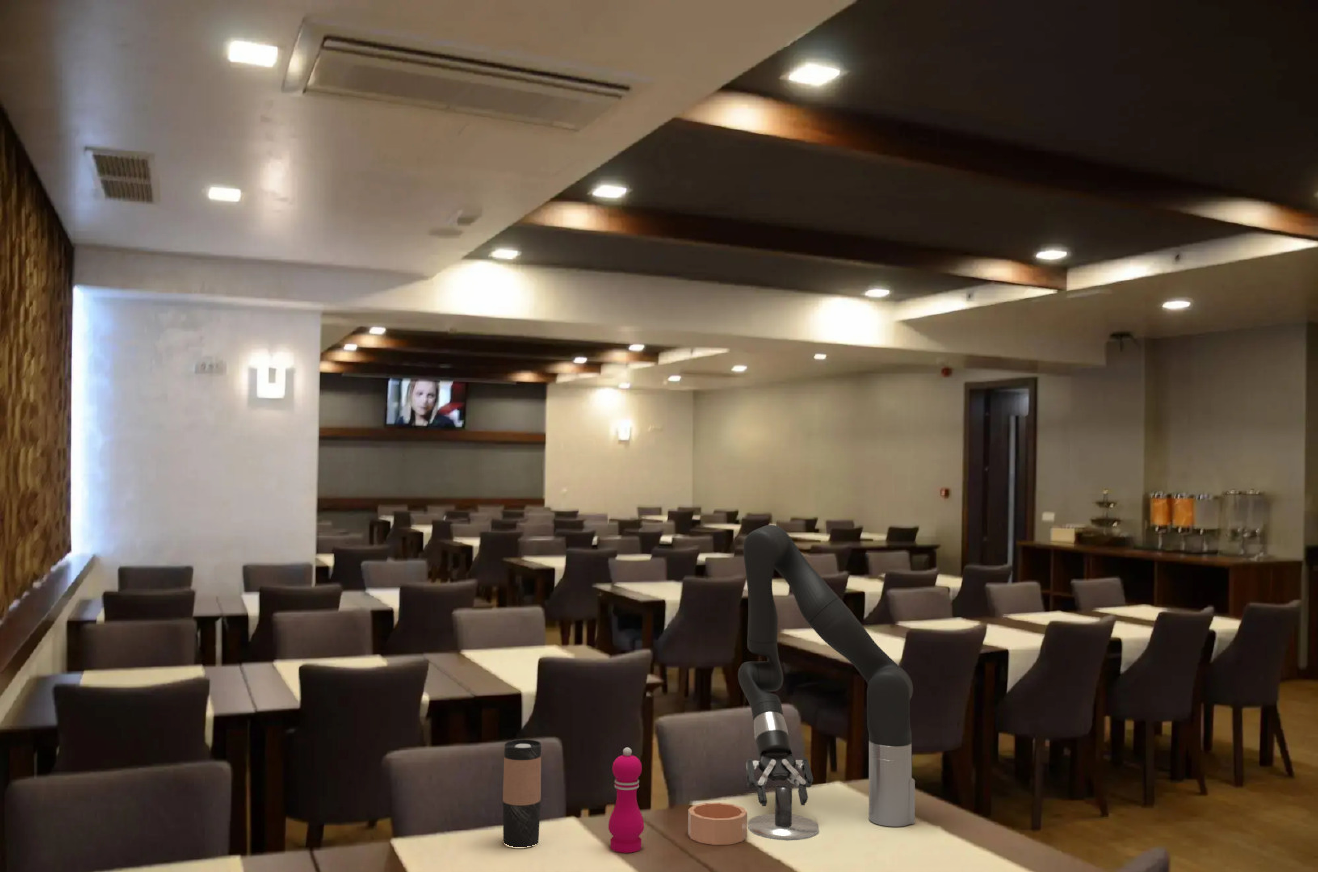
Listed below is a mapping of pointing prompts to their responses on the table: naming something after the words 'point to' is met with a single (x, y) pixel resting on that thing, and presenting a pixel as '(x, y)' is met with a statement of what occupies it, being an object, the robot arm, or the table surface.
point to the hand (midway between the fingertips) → (784, 804)
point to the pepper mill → (626, 805)
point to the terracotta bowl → (717, 823)
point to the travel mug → (521, 792)
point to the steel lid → (783, 820)
